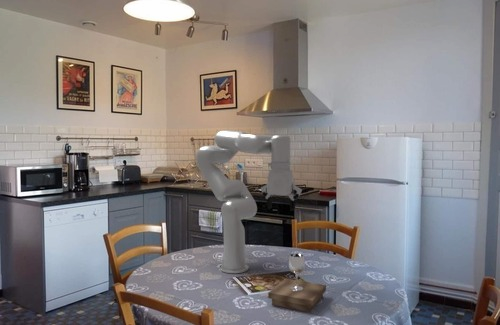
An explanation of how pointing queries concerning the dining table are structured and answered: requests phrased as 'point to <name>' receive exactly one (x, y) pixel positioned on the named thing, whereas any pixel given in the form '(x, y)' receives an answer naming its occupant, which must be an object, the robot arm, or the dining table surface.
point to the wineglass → (296, 267)
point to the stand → (297, 295)
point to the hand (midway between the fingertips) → (280, 209)
